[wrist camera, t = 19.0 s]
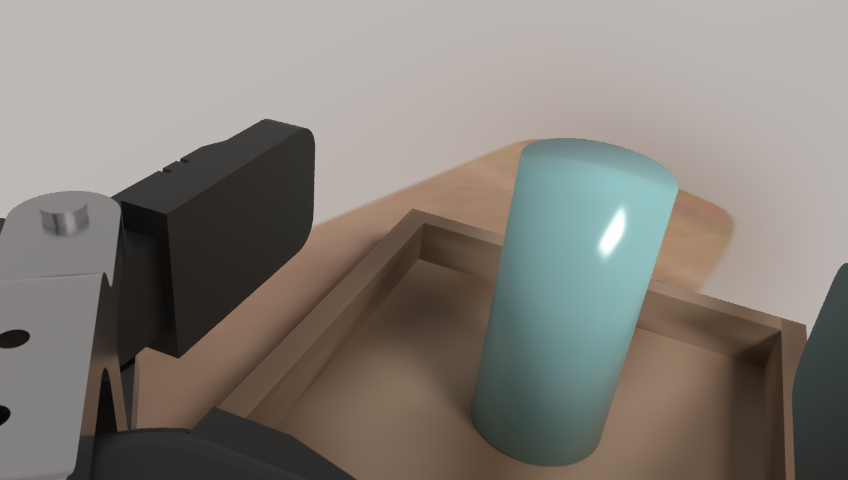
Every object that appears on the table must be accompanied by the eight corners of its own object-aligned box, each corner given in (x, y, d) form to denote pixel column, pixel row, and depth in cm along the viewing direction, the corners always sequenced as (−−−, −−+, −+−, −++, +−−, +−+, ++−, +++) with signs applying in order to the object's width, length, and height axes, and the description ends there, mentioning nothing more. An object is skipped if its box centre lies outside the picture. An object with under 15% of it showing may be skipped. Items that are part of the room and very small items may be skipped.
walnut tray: (780, 380, 34) (805, 325, 32) (792, 798, 19) (839, 731, 18) (405, 261, 39) (412, 208, 37) (178, 520, 24) (175, 449, 22)
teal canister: (611, 401, 30) (685, 163, 25) (586, 485, 26) (668, 220, 21) (494, 360, 31) (542, 127, 26) (452, 435, 27) (500, 174, 22)
